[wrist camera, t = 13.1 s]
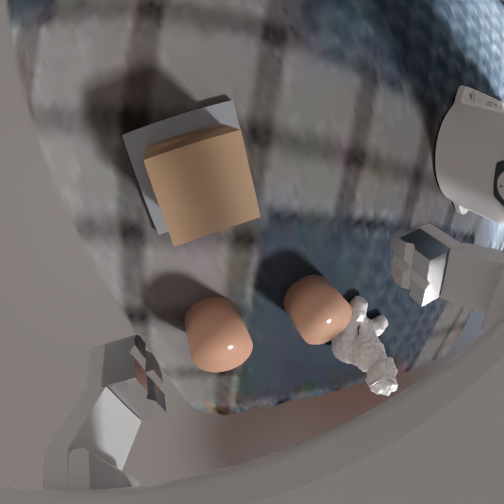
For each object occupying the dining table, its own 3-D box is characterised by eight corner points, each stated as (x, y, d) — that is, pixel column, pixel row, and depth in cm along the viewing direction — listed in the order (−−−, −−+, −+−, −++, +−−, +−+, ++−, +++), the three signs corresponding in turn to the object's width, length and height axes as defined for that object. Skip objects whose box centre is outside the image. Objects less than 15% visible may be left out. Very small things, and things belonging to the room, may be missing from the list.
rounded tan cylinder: (328, 266, 33) (351, 291, 29) (330, 304, 37) (351, 330, 32) (279, 286, 33) (298, 314, 28) (287, 323, 36) (304, 352, 32)
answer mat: (231, 100, 22) (233, 99, 21) (255, 198, 27) (257, 200, 26) (122, 134, 21) (121, 135, 20) (158, 232, 26) (158, 235, 25)
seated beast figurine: (384, 315, 42) (433, 368, 32) (345, 355, 43) (386, 412, 33) (356, 291, 37) (414, 353, 27) (310, 338, 39) (355, 407, 28)
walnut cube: (220, 123, 22) (240, 129, 17) (237, 191, 25) (260, 217, 20) (146, 146, 21) (143, 160, 16) (169, 214, 24) (174, 246, 19)
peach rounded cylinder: (230, 288, 31) (244, 319, 27) (244, 327, 34) (258, 359, 30) (175, 308, 30) (181, 342, 26) (195, 345, 33) (203, 378, 29)
